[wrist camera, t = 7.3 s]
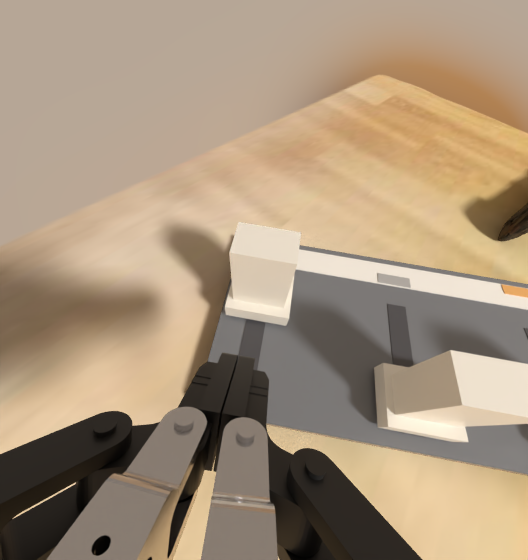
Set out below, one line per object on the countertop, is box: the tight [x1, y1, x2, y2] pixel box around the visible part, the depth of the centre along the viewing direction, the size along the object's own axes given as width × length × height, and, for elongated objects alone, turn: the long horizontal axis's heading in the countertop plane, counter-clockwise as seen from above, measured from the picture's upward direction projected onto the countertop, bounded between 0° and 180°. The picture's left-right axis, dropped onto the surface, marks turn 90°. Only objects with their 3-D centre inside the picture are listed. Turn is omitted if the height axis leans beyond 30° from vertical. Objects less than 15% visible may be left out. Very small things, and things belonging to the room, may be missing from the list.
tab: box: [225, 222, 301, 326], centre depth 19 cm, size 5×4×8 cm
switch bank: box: [208, 245, 528, 475], centre depth 22 cm, size 30×16×2 cm, turn 80°
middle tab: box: [374, 350, 528, 442], centre depth 15 cm, size 5×4×8 cm
